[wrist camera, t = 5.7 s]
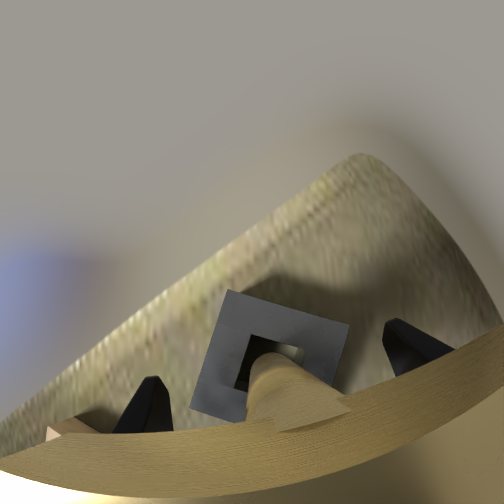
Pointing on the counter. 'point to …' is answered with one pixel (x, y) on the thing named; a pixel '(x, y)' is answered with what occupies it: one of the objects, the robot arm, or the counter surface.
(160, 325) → the counter surface
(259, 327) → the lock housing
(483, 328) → the counter surface
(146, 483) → the T-key
